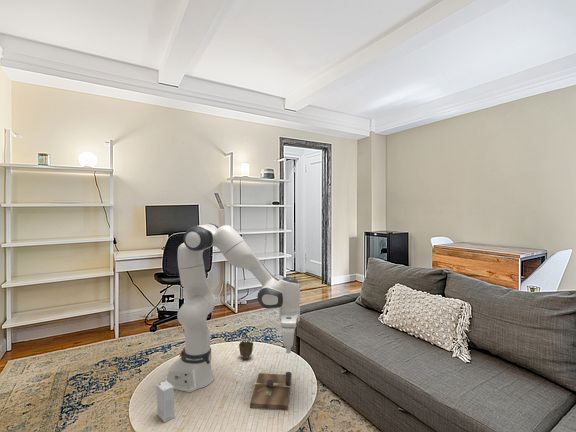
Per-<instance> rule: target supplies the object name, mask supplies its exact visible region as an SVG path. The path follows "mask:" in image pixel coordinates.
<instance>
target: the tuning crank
mask: <svg viewBox="0 0 576 432" xmlns="http://www.w3.org/2000/svg"><path fill="white" fill-rule="evenodd" d="M285 375H286V384H285V383H273V380H267V383H256V382H254V383H253V386H255V385H266V386H267V387H268V388H272V387H273V386H277V387H290V388H291V386H292V372H290V371H286V372H285Z"/></svg>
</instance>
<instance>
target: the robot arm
mask: <svg viewBox="0 0 576 432" xmlns="http://www.w3.org/2000/svg"><path fill="white" fill-rule="evenodd" d="M211 247H212V248H213V247H215V248H217V249H218V251H220V253H221V254H222V256H223V257H224V258H225V259H226V261H227V262H228V263H229V264H230V265H231V266H233V267H235V268H240V269H245V270H248V271H249V272H250V273H251V274H252V275H253V276H254V277H255V278H256V279H257V281H258V282H259V283H260V284H261V286H262V287H261V288H260V289H259V291H258V293H257V296H256V297H257V302H258V304H259V305H260V306H261V308H264V309H267V310H268V309H270V310H271V309H277V308H279V318H278V320H279V321H280V327H281V331H282V333H281V334H282V343H283V347H285V348H286V354H291V353H292V347H293V346H294V337H295V332H296V328H297V326H298V323H299V322H300V320H301V307H300V301H301V289H300V284H299V281H298V280H297V279H295V278H293V277H291V276H290V277H288V276H284V277H282V278H281V279H280V278H279V279H278V278H277V277H276V276H274V275H273V274H272V273H271V272H270V271H269V270H268V269H267V268H266V266H265V265H264V264H263V263H262V261H261V260H260V259H259V258H258V257H257V256H256V254H255V253H254V252H253V251H252V249H251V248H250V246H249V245H248V243H247V242H246V241H245V240H244V238H243V237H242V236H241V235H240V233H239V232H237V230H236V229H234V228H233V227H232V226H231V225H228V224H224V225H221V226H220V227H219V226H218V225H216V224H214V223H202V224H199V225H196V226H195V225H194V226H192V227H190V228H189V229H187V230H186V231H185V232H184V234H183V243H181V244H180V245H179V246H178V248H177V267H178V273H179V280H180V286H181V287H182V288H184V290H185V292H186V294H187V296H188V300H186V301H185V302H184V303H182V305H181V306H180V308H179V309H178V311H177V315H176V316H177V321H178V322H179V323H180V325H181V326H182V328H183V332H184V347H183V348H182V350H181V352H180V354H179V358H178V359H177V360H176V361H174V362H173V363H172V364H171V365H170V367H169V368H168V370H167V374H165V375H164V377H163V378H162V380H161V383H162V382H164V381H168V382H169V383H170V384H171V385H172V386H174V390H176V391H182V392H185V393H186V392H187V393H192V392H195V391H196V390H200V389H202V388H204V387H207V386H209V385H211V383H212V382H213V380H214V378H215V377H214V374H213V370H212V363H211V361H212V347H211V331H210V329H209V328H208V324H207V318H208V315H210V314H211V313H212V312H213V310H214V309H215V306H216V302H217V299H216V296H215V295H214V293H213V292H212V291H211V289H210V287H209V283H208V280H207V275H206V270H205V263H204V257H203V256H204V255H203V253H204V251H205V250H207V249H208V250H209V249H211Z"/></svg>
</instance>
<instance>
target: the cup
mask: <svg viewBox="0 0 576 432" xmlns="http://www.w3.org/2000/svg"><path fill="white" fill-rule="evenodd" d="M238 346H239V347H238V348H239V354H240V355H241V357H242V359H243V360H245V361H246V360H249V359H250V356H251V355H252V353H253V350H254V349H253V348H254V341H250V340H241V341H240V342H239V344H238Z"/></svg>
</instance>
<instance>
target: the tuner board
mask: <svg viewBox="0 0 576 432" xmlns="http://www.w3.org/2000/svg"><path fill="white" fill-rule="evenodd" d="M267 380H273V383H285V384H286V374H281V373H265V372H264V373H263V372H262V373H261V372H259V373H258V375H257V378H256V382H255V383H267ZM290 388H291V387H277V386H273V387H272V388H268V387H267V386H266V385H254V388H253V392H252V395H251V399H250V402H249V408H250V409H257V410H258V409H259V410H260V409H261V410H277V411H278V410H279V411H289V410H288V409H289V398H290V397H289V396H290V392H291V391H290V390H291V389H290Z"/></svg>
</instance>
